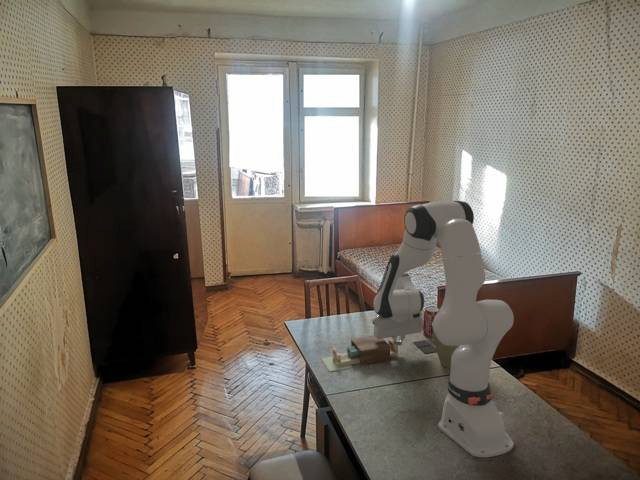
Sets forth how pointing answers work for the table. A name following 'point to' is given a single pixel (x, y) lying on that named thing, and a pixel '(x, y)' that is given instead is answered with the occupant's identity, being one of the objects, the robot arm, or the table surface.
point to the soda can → (429, 320)
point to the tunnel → (372, 350)
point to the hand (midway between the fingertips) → (397, 344)
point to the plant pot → (444, 352)
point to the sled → (358, 354)
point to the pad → (333, 364)
